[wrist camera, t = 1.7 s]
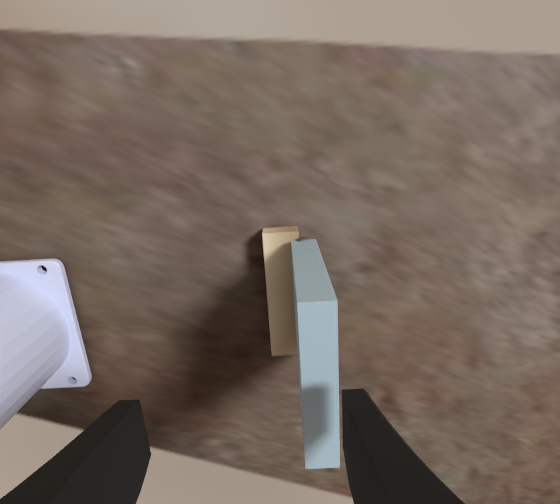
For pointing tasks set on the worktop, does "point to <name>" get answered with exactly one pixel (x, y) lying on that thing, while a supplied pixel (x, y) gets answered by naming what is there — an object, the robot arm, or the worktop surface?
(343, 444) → the robot arm
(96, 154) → the worktop surface
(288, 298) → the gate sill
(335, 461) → the panel
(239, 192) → the worktop surface
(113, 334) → the worktop surface
